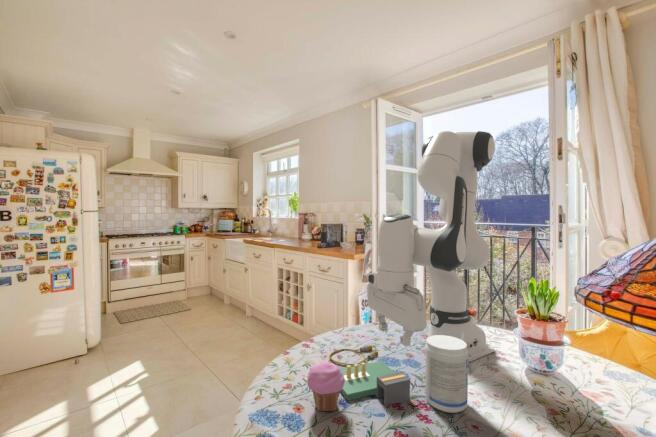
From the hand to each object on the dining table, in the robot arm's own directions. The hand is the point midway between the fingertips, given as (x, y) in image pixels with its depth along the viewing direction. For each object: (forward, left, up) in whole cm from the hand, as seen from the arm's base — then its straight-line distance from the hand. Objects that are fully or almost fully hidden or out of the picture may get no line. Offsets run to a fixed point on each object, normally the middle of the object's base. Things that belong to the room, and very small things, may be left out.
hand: (393, 337), depth 78 cm
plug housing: (0, 0, -15) cm, 15 cm away
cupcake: (+17, -3, -15) cm, 23 cm away
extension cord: (-1, -23, -16) cm, 28 cm away
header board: (+2, -9, -15) cm, 18 cm away
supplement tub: (-11, +6, -15) cm, 20 cm away
